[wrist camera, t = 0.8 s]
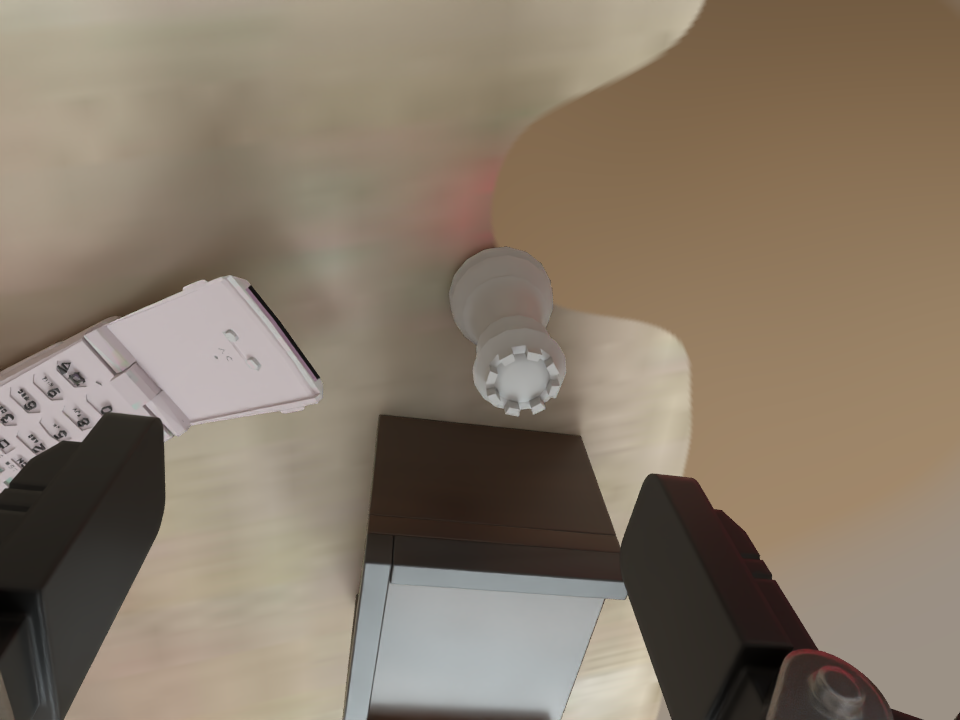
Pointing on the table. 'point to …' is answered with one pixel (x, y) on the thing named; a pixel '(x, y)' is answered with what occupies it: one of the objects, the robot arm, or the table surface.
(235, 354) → the mobile phone
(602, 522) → the tray
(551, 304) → the rook chess piece
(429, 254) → the table surface
